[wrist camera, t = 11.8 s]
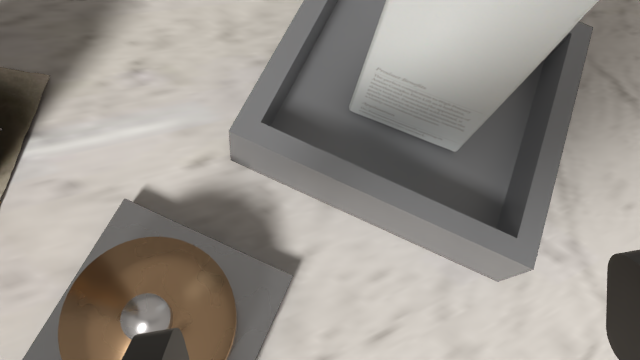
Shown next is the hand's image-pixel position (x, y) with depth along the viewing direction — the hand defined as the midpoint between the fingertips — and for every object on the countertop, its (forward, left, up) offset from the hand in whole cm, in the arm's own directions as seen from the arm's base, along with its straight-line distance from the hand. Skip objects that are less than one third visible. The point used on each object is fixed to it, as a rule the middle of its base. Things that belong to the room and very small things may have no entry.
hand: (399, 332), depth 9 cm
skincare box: (0, +13, -12) cm, 18 cm away
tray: (0, +13, -13) cm, 19 cm away
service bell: (-6, -2, -13) cm, 14 cm away
